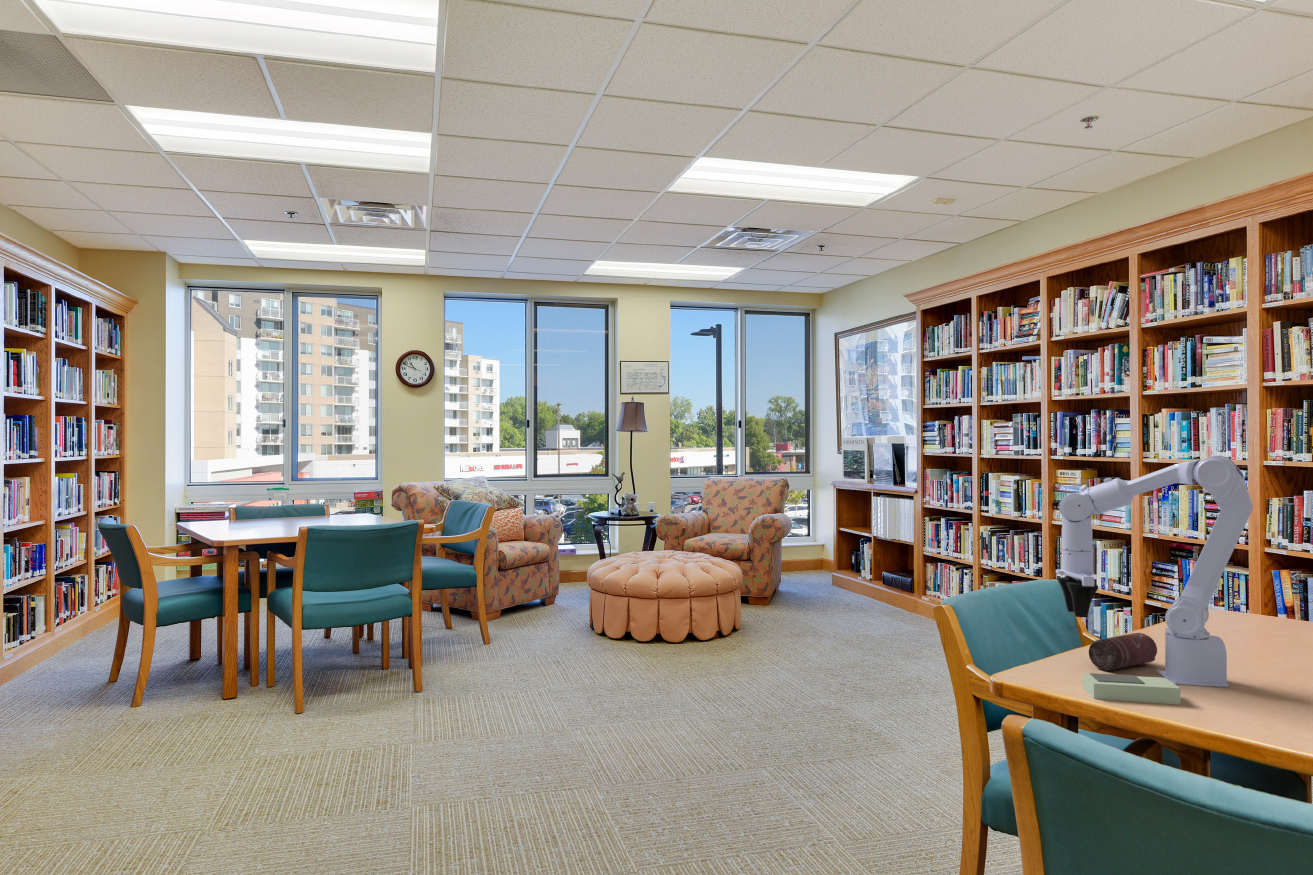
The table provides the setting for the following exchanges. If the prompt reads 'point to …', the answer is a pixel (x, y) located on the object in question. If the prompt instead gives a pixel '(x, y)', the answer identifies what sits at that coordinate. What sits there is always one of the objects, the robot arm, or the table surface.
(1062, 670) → the table surface
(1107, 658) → the can
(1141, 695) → the pale green slab
